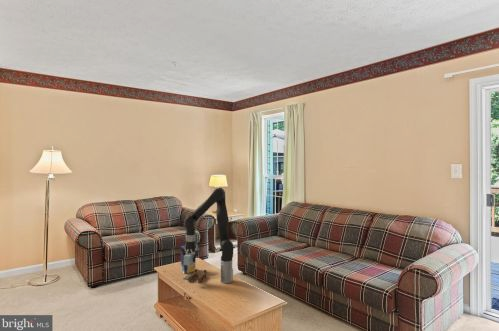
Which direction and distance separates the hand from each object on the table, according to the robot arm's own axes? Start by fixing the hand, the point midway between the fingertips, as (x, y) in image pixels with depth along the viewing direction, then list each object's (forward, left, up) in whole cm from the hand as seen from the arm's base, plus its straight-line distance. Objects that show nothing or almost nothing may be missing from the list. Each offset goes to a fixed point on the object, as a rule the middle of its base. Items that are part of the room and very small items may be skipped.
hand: (190, 261), depth 245 cm
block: (0, +3, -1) cm, 3 cm away
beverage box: (+11, -19, -16) cm, 27 cm away
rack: (-5, -3, -16) cm, 17 cm away
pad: (+2, -5, -16) cm, 17 cm away
